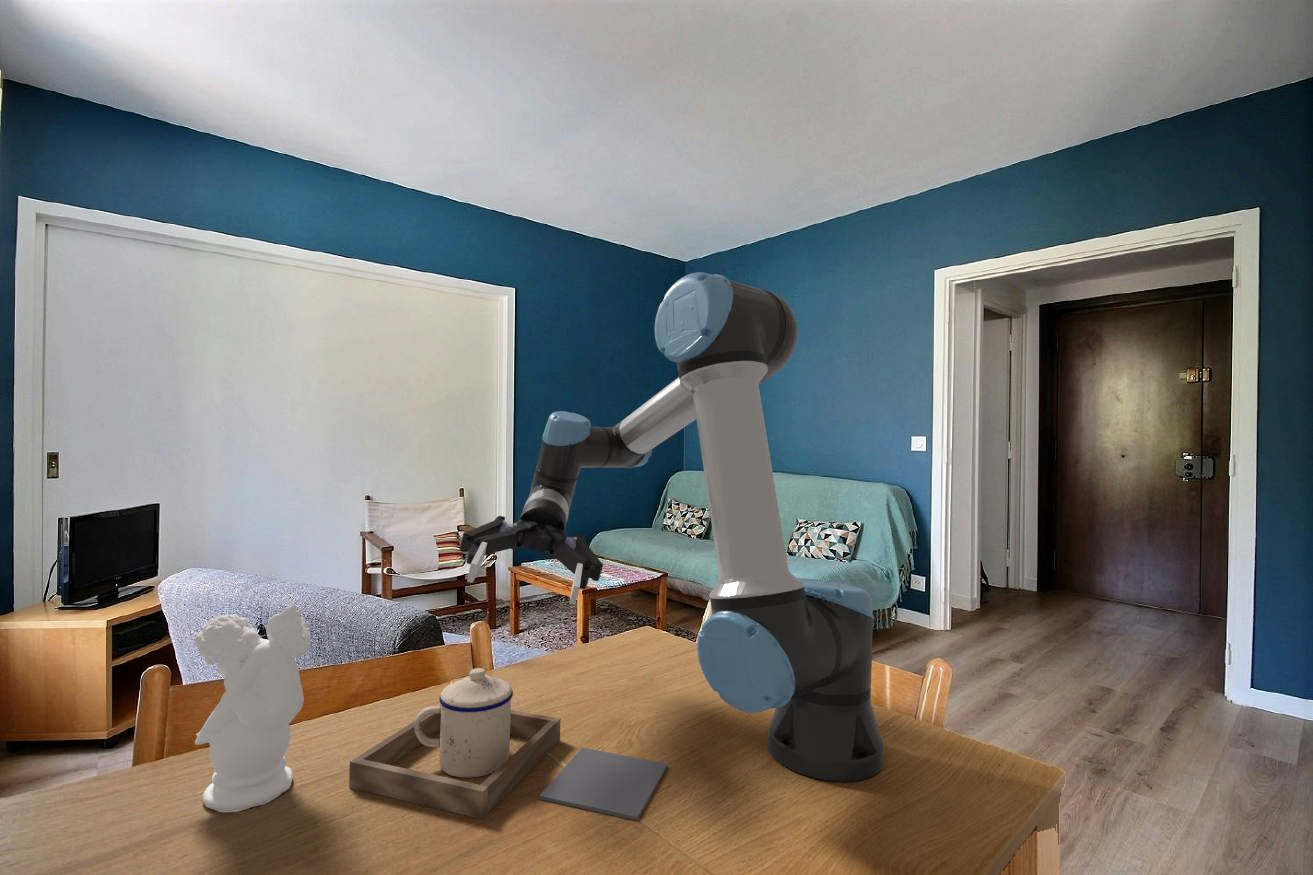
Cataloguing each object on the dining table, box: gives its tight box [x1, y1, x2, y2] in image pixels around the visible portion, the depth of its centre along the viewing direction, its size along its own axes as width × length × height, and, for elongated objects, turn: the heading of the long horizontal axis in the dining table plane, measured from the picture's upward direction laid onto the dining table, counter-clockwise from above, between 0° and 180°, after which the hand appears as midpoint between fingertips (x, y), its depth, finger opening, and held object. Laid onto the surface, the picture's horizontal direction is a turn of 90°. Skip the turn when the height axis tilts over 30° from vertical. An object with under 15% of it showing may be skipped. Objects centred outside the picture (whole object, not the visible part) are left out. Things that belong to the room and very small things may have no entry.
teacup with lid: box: [414, 667, 514, 779], centre depth 79 cm, size 12×9×12 cm
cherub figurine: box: [194, 603, 312, 813], centre depth 73 cm, size 12×12×22 cm
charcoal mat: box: [538, 747, 669, 821], centre depth 75 cm, size 12×12×1 cm
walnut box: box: [348, 704, 561, 820], centre depth 79 cm, size 18×19×3 cm
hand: (523, 584), depth 81 cm, fingers open, 13 cm apart
